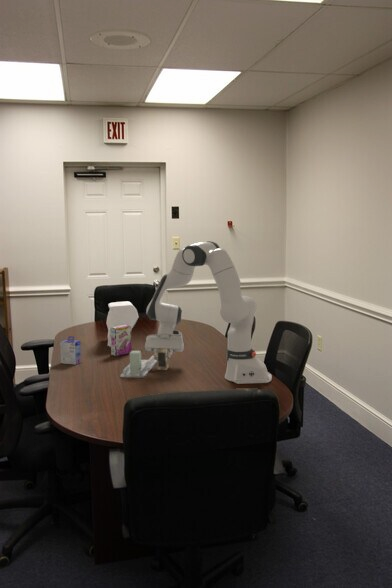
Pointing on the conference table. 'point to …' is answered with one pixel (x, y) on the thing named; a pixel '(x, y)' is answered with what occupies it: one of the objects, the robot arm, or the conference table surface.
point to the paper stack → (120, 316)
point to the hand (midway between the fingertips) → (162, 357)
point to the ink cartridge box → (70, 351)
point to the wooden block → (162, 359)
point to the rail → (136, 375)
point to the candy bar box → (120, 340)
